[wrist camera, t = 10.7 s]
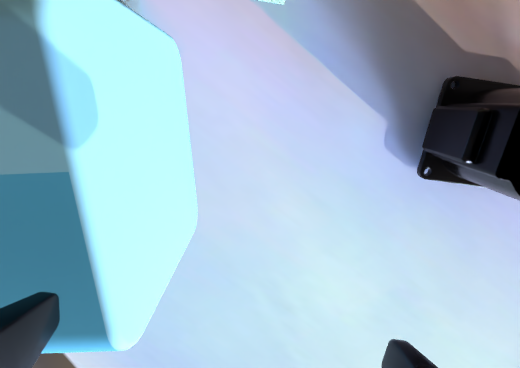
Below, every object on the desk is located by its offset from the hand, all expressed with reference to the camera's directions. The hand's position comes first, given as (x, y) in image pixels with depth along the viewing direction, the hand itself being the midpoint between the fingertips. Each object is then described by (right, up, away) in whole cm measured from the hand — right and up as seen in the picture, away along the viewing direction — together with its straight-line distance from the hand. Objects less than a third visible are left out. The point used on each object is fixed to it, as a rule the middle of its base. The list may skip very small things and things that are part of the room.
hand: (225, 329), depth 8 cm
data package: (-6, +7, +12) cm, 15 cm away
